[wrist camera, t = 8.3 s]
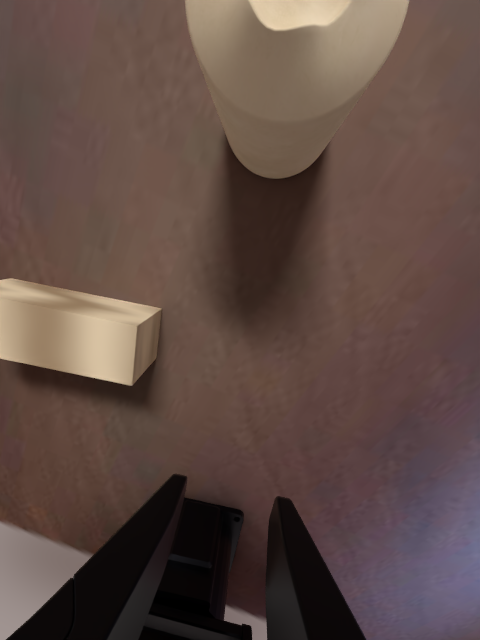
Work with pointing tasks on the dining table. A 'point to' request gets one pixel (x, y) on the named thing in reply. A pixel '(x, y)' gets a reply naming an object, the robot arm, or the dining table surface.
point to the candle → (289, 71)
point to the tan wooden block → (77, 331)
